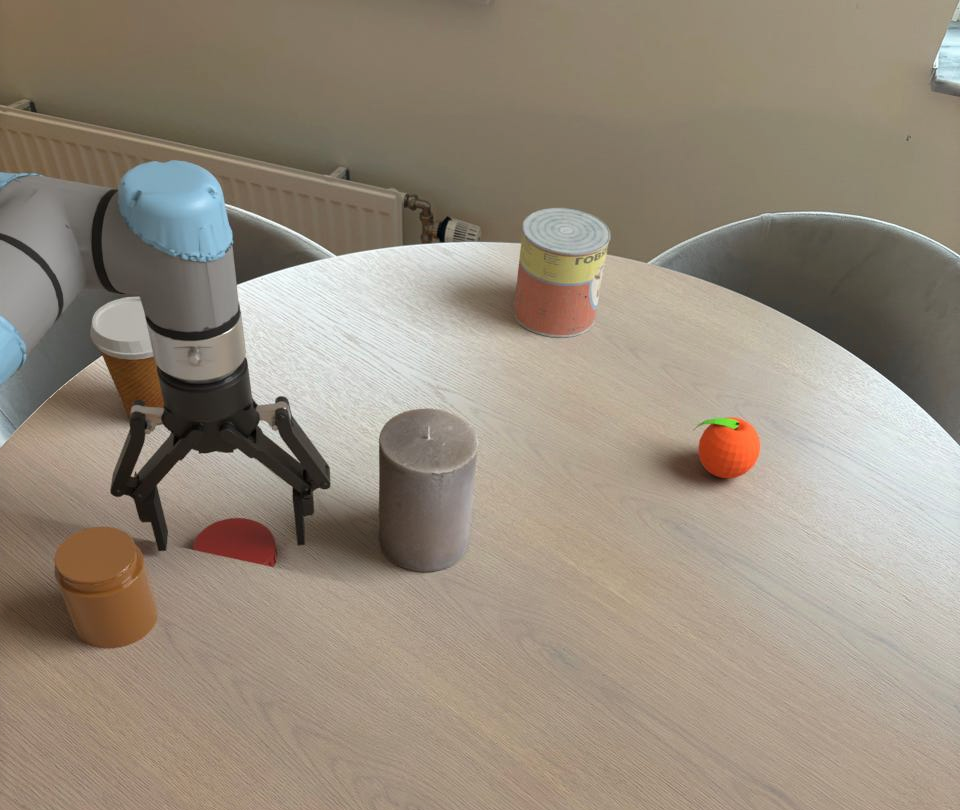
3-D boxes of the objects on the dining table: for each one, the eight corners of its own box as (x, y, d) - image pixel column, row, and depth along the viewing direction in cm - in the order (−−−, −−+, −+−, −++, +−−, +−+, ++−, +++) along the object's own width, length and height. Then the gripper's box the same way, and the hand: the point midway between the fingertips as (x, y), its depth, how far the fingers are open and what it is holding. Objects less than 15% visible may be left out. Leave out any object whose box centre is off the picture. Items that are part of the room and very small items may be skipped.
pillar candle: (364, 523, 106) (361, 410, 94) (446, 499, 109) (452, 387, 97) (402, 584, 101) (403, 473, 89) (486, 557, 104) (498, 446, 92)
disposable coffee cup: (179, 440, 112) (159, 350, 103) (98, 427, 113) (72, 336, 103) (207, 390, 118) (191, 301, 109) (130, 378, 119) (108, 288, 109)
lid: (258, 595, 98) (256, 583, 97) (181, 576, 99) (178, 564, 98) (289, 540, 103) (287, 527, 102) (216, 522, 104) (213, 509, 103)
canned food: (588, 344, 130) (603, 260, 120) (505, 328, 131) (513, 243, 122) (601, 299, 137) (616, 216, 128) (522, 284, 138) (531, 201, 129)
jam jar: (64, 651, 92) (33, 575, 84) (101, 593, 97) (75, 515, 89) (140, 668, 92) (116, 593, 84) (174, 609, 96) (154, 532, 88)
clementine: (677, 479, 114) (692, 430, 108) (689, 443, 118) (703, 394, 113) (745, 497, 113) (763, 449, 107) (754, 460, 117) (772, 412, 111)
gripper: (39, 390, 79) (100, 571, 95) (352, 384, 82) (358, 559, 99) (52, 335, 83) (108, 517, 100) (348, 332, 87) (355, 508, 103)
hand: (232, 538), depth 99 cm, fingers open, 13 cm apart
